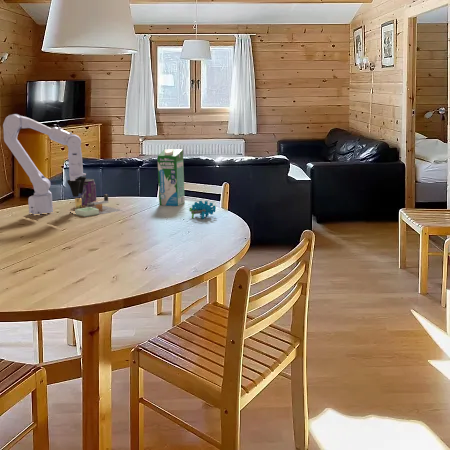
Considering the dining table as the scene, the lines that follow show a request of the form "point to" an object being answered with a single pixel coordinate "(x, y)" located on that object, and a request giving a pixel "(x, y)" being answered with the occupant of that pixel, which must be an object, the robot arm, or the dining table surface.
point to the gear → (202, 209)
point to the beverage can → (88, 192)
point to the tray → (87, 211)
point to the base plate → (103, 209)
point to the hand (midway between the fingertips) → (77, 195)
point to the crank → (99, 201)
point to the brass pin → (78, 203)
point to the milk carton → (171, 177)
